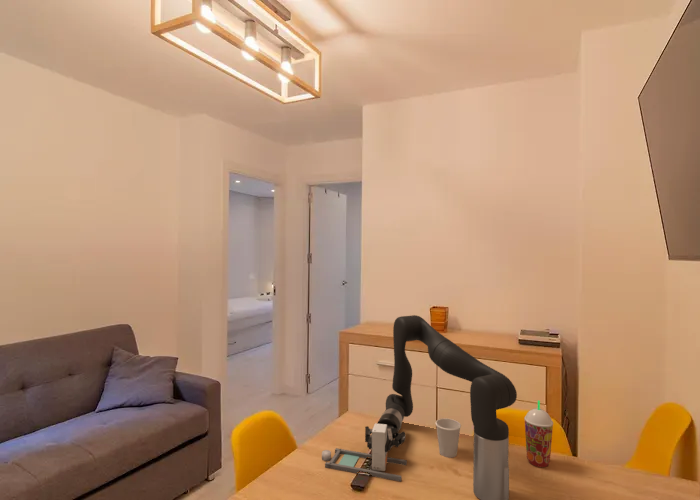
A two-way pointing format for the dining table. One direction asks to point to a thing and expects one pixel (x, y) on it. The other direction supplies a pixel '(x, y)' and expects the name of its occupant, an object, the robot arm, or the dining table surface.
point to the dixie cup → (448, 436)
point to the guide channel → (351, 459)
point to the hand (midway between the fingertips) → (377, 447)
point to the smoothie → (538, 436)
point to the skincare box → (379, 447)
